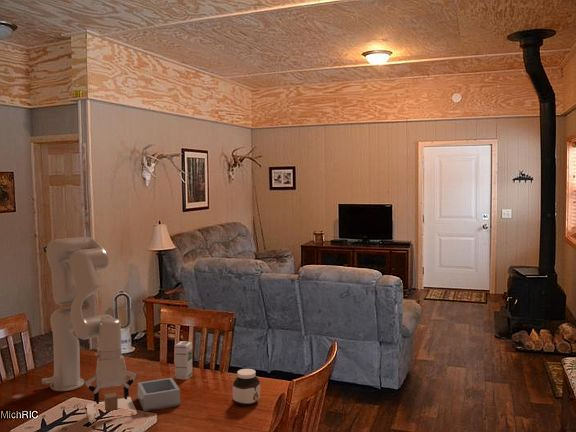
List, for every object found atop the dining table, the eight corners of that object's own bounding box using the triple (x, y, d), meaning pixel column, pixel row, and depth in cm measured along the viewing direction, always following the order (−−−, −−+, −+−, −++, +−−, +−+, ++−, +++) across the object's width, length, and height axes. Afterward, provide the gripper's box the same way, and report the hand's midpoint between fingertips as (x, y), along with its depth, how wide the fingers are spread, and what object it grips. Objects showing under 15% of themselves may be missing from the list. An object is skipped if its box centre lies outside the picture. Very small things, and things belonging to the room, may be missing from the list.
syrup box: (187, 379, 219) (187, 345, 218) (174, 378, 220) (174, 344, 219) (193, 374, 225) (192, 341, 224) (180, 373, 226) (179, 340, 225)
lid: (89, 425, 179) (89, 408, 179) (85, 407, 193) (85, 391, 193) (137, 416, 186) (137, 400, 186) (130, 399, 200) (130, 384, 200)
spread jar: (243, 409, 191) (243, 378, 190) (223, 400, 199) (223, 370, 198) (266, 399, 200) (267, 369, 199) (246, 391, 207) (246, 362, 207)
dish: (144, 411, 188) (143, 395, 188) (137, 398, 200) (137, 382, 200) (180, 405, 194) (180, 389, 194) (171, 392, 206) (171, 377, 205)
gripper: (85, 360, 181) (86, 409, 182) (137, 353, 189) (138, 400, 189) (83, 354, 188) (85, 401, 189) (133, 347, 195) (134, 392, 196)
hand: (111, 400), depth 189 cm, fingers open, 9 cm apart
